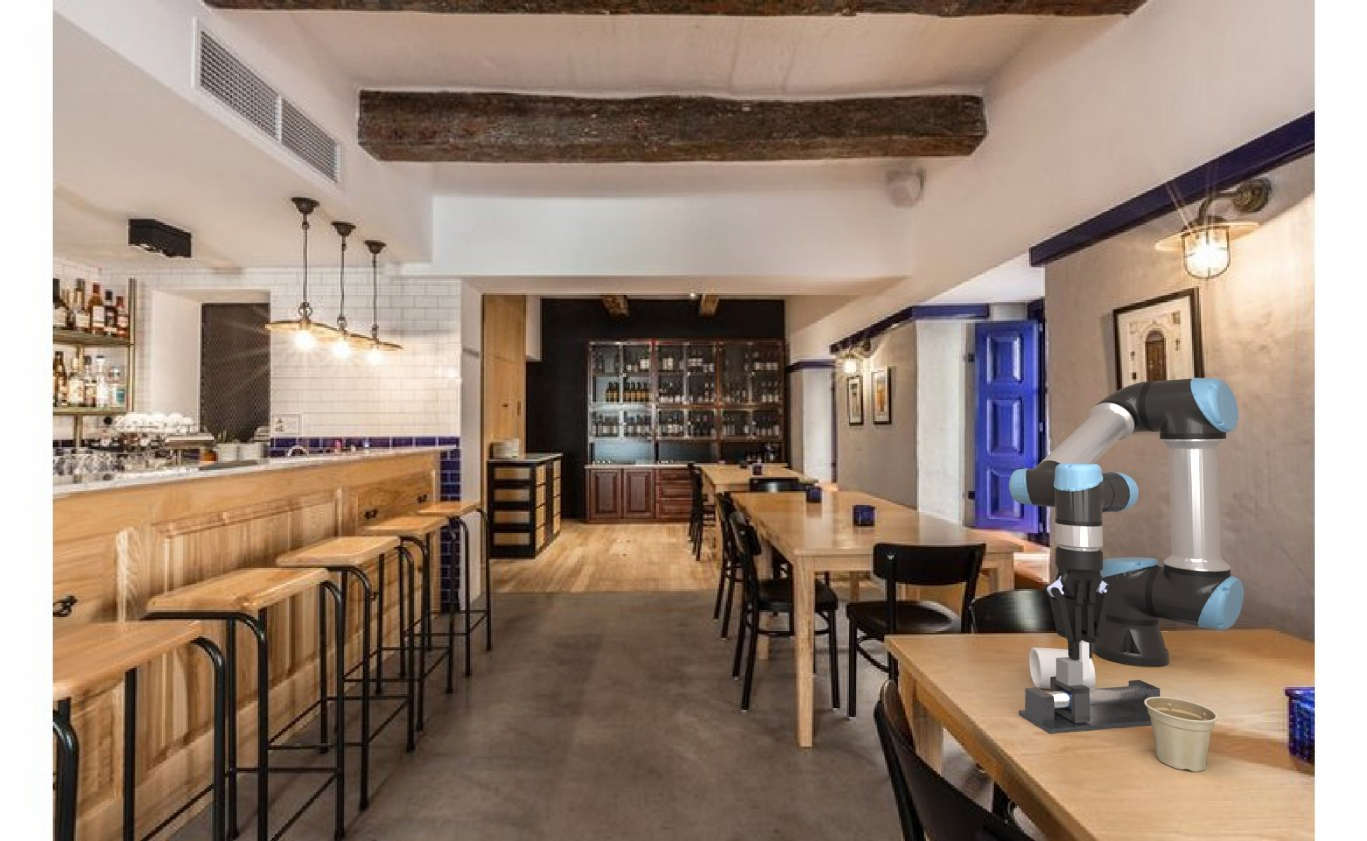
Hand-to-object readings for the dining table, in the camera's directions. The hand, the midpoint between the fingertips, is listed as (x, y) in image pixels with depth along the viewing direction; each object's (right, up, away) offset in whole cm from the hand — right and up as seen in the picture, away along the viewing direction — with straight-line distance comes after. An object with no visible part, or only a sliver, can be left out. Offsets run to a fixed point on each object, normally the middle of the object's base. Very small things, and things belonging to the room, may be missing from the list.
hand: (1080, 676), depth 120 cm
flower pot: (+7, -8, -16) cm, 19 cm away
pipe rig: (+3, -8, 0) cm, 8 cm away
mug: (+6, -9, +17) cm, 20 cm away
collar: (-2, -8, -1) cm, 8 cm away
